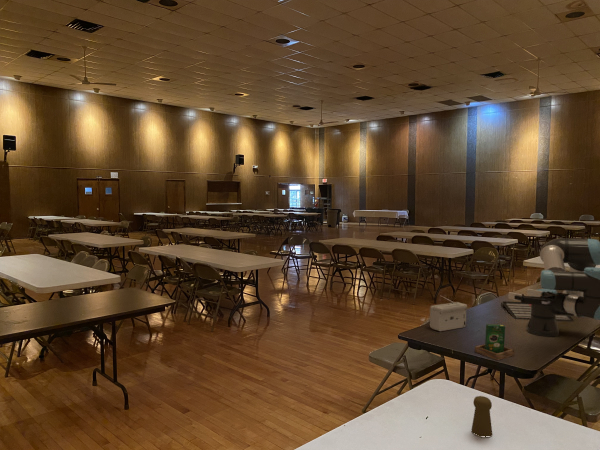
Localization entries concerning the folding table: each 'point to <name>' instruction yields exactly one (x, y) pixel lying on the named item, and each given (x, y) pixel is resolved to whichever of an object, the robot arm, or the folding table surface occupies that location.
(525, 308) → the shutter
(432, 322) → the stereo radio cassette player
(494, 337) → the coffee box
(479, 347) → the tray
